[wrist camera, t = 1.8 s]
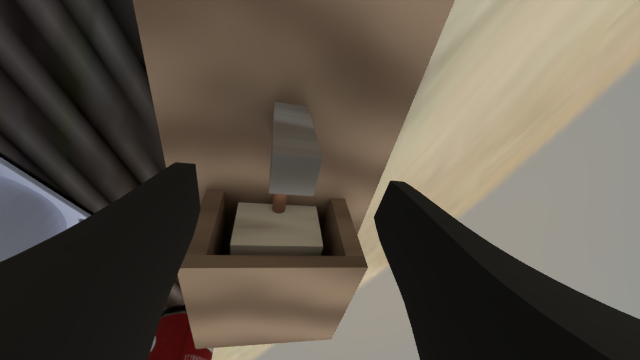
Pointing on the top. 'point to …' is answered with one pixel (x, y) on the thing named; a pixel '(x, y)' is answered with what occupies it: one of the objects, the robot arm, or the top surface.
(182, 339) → the soda can
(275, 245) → the grey handled cream block
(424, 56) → the walnut shelf
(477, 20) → the top surface
